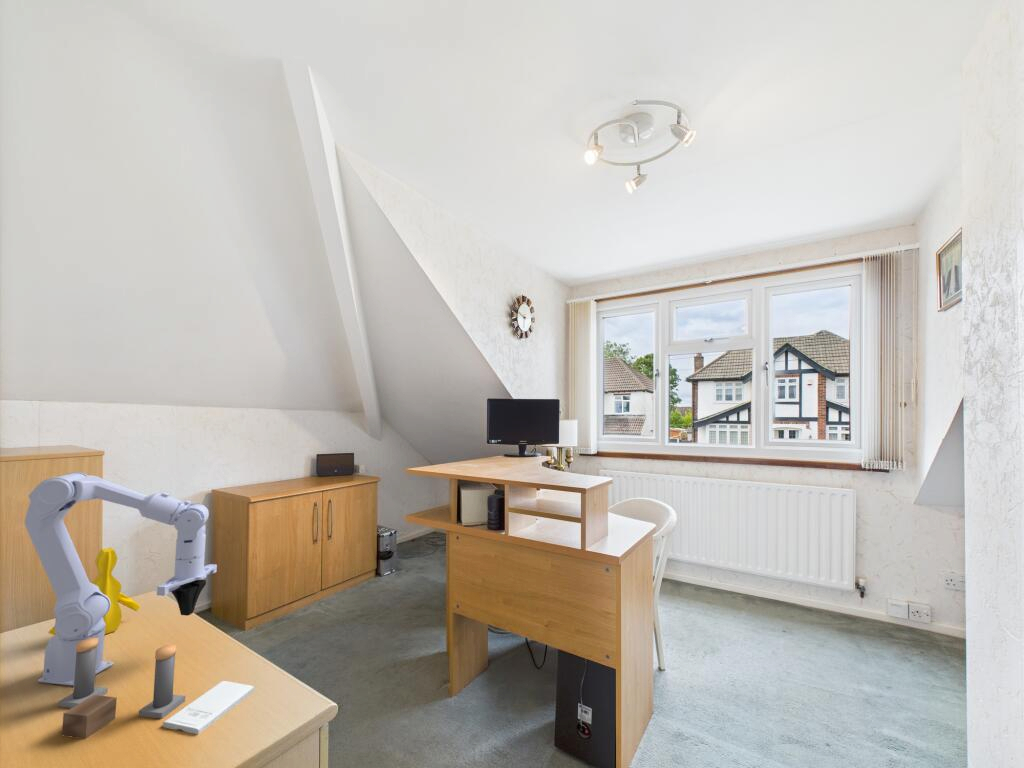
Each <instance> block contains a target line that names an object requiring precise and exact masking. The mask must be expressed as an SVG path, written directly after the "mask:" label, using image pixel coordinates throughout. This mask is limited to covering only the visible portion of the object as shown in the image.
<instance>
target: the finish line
mask: <svg viewBox="0 0 1024 768" xmlns="http://www.w3.org/2000/svg"><path fill="white" fill-rule="evenodd" d="M97 646H98V638H88V639H85V640H82V641H80V642H78V643H77V644H76V665H75V678H74V686H73V691H72V693H71V694H69V695H67V696H65V697H64V698H62V699H60V700H58V701H57V702H58V704H57V705H58V708H59V707H60V708H68V709H71V708H73V707H75V706H76V705H78V704H80V703H81V702H83V701H85V700H86V699H88V698H90V697H91V696H93V695H99V696H105V694H107V693H108V690H109V689H108V688H109V687H108V686H107V687H106V686H97V685H96V686H95V683H96V682H95V681H96V674H95V671H96V657H97ZM154 653H155V654H154V655H155V656H154V659H155V663H154V666H155V667H154V681H153V683H154V684H153V696H152V701H151V702H149V703H147V704H145V706H143V707H142V708H140V709H139V710H138V716H139V717H143V718H144V717H145V718H152V719H164V717H166V716H167V715H168V714H170V713H172V711H174V710H175V709H176V708H177V707H179V706H181V705H182V704H183V703H184V702H185V701H186V695H181V694H174V682H175V679H174V678H175V664H176V663H175V662H176V653H177V645H176V644H167V645H163V646H161V647H159V648H157V649H156V650H155V652H154Z"/></svg>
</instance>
